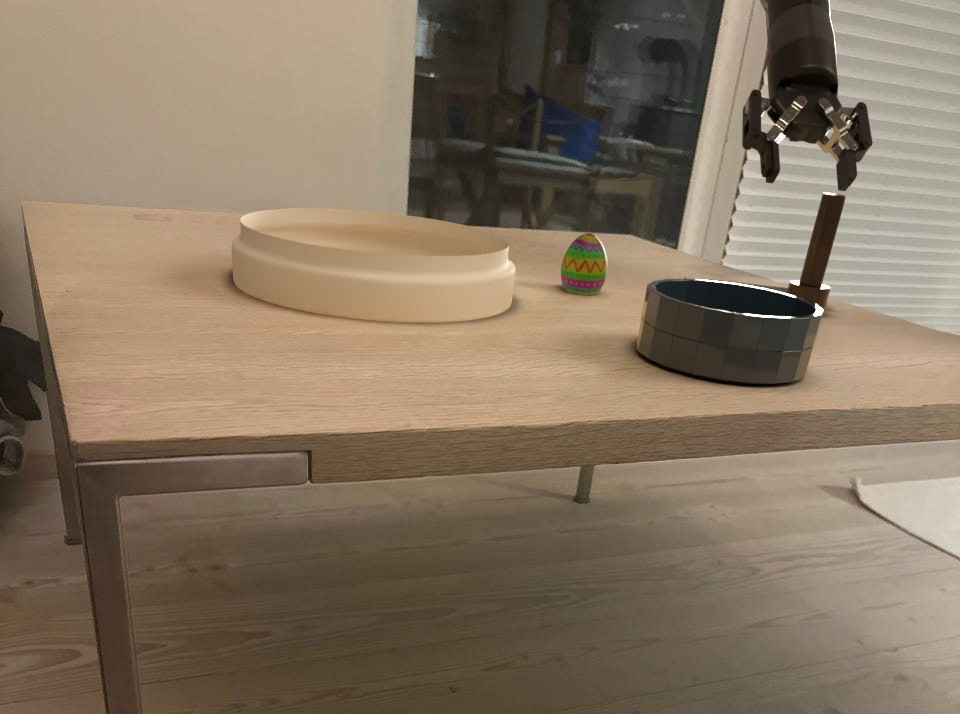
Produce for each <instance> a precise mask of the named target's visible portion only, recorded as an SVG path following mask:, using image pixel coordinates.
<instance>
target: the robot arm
mask: <svg viewBox="0 0 960 714" xmlns="http://www.w3.org/2000/svg"><path fill="white" fill-rule="evenodd" d="M759 2H760V4H761V5H762V8H763V9H764V12H765V23H766V24H765V25H766V39H767V40H766V41H767V42H766V48H765V49H766V50H765V66H766V73H767V74H766V75H767V90H768V97H763V96H762V92H761V90H759V89H757V88H755V89H752V90H751V92H750V93H749V96H748V98H747V100H746V102H745V104H744V105H743V108H742V126H741V127H742V130H741V131H742V133H741V135H742V136H741V146H742V148H743V149H744V150H745V151H751V150H752V149H753V150H755V151H757V154H758V155H759V161H760V162H759V164H760V174H761V176H762V178H765V183H766V184H774V183H775V181H776V179H777V178H778V176H779V175H780V172H781V162H780V161H781V160H780V145H779V144H780V142H781V141H782V140H783V139H784V138H786V139H789V142H793V143H797V142H805V143H807V144H810V145H811V144H813V145H816V144H817V146H818V147H819V148H820V149H821V150H822V151H823V153H824V154H830V155H831V156H832V158H833V159H834V160H835V161H836V162H837V163H836V164H835V168H836V169H835V171H836V180H837V181H836V182H837V190H838V192H847V190H848V189H849V188H850V187H851V186H852V185H853V183H854V181H855V180H856V178H857V176H858V167H857V166H858V165H857V163H860V162H862V160H863V158H864V156H865V155H866V154H867V152H869V150H870V149H871V147H872V145H873V137H872V131H871V125H870V118H869V112H868V105H867V104H866V103H865V102H863V101H859V102H857V103H856V105H855V106H854V107H847V106H843V105H842V103H841V102H840V100H839V95H838V93H839V73H838V72H839V71H838V63H837V51H836V50H837V48H836V40H835V39H836V38H835V32H834V28H833V24H832V19H831V8H830V7H831V6H830V0H759ZM765 112H766V115H767V116H768V117H769V119H770V120H771V121H772V122H773V124H774V125H773V126H772V127H771V128H770V129H769V130H768V131H767V132H765V131H762V116H763V115H764V113H765ZM831 130H832V131H833V132H832V134H831V136H830V137H828V136H827V135H828V134H829V133H830V131H831ZM840 144H841V145H842V146H843V148H842V147H841V146H840Z"/></svg>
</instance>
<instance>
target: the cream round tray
mask: <svg viewBox="0 0 960 714" xmlns="http://www.w3.org/2000/svg"><path fill="white" fill-rule="evenodd" d="M239 221H240V234H239V235H237V236H236V237H235V238H234V239H233V240H232V242H231V265H232V269H231V270H232V280H233V283H234V285H235V286H236V288H238V289H239V290H240V291H242V292H243V293H245V294H247V295H249V296H250V297H253V298H256V299H258V300H261V301H263V302H266V303H270V304H273V305H277V306H279V307H285V308H288V309H292V310H297V311H302V312H306V313H312V314H318V315H322V316H323V315H324V316H330V317H336V318H344V319H345V318H346V319H353V320H363V321H373V322H387V323H388V322H389V323H411V324H415V323H418V324H419V323H420V324H421V323H422V324H423V323H424V324H427V323H428V324H429V323H435V324H436V323H457V322H466V321H467V322H468V321H475V320H481V319H486V318H491V317H494V316H497V315H499V314H502V313H504V312H505V311H507V310H509V308H510V307H511V306H512V303H513V296H514V287H515V286H514V285H515V278H516V277H515V276H516V266H515V264H514V263H513V262H512V261H511V260H510V259H509V249H510V242H509V241H508V240H507V239H506V238H504V237H502V236H501V235H498V234H496V233H494V232H491V231H487V230H484V229H481V228H478V227H473V226H470V225H465V224H460V223H456V222H451V221H446V220H440V219H435V218H428V217H421V216H415V215H407V214H399V213H390V212H382V211H381V212H380V211H372V210H371V211H370V210H358V209H344V208H343V209H342V208H318V207H317V208H316V207H315V208H314V207H313V208H312V207H311V208H310V207H308V208H307V207H306V208H303V207H302V208H300V207H297V208H276V209H265V210H258V211H252V212H249V213H246V214H244V215H243V216H241V217H240V220H239Z"/></svg>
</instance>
